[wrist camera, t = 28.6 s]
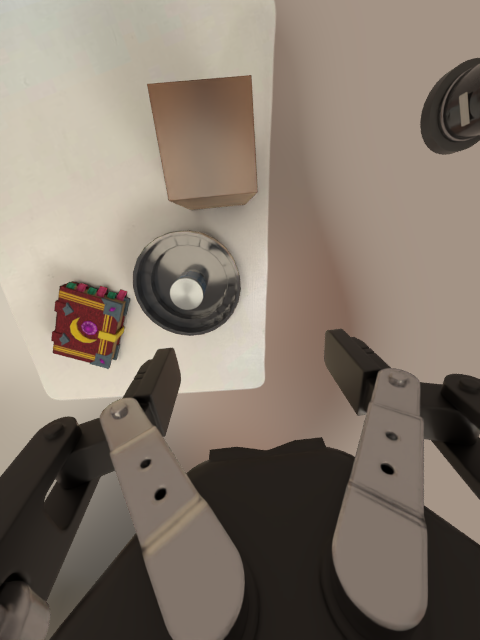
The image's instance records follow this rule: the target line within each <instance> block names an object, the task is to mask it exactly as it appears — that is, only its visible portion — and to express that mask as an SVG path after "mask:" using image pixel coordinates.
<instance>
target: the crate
mask: <svg viewBox="0 0 480 640" xmlns="http://www.w3.org/2000/svg"><path fill="white" fill-rule="evenodd" d="M147 86H148V92H149V97H150V102H151V108H152V113H153V119H154V124H155V129H156V135H157V140H158V146H159V151H160V156H161V162H162V167H163V173H164V178H165V183H166V189H167V194H168V200H169V201H171V202H173V203H175V204H178V205H180V206H183V207H185V208H187V209H190V210H195V209H206V208H216V207H227V206H237V205H245V204H246V203H247V202H248V201H249V200H250V199H251V198H252V197H253V196H254V195H255V194H256V193H257V192H258V190H257V172H256V153H255V134H254V116H253V97H252V79H251V75H249V76H237V77H225V78H214V79H202V80H190V81H178V82H166V83H154V84H147Z"/></svg>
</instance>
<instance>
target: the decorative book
mask: <svg viewBox="0 0 480 640" xmlns="http://www.w3.org/2000/svg"><path fill="white" fill-rule="evenodd" d="M106 291H107V288H105V287H102V286H100V288H99V290H98V289H95V288H92V287H88V285H86V284H83V283H80V284H79V283H76V282H73V281H72V282H69V283H67V284H64V285H62V286H60V289H59V298H58V300H57V301H55V310H54V311H56V312H57V317H56V327H55V330H54V331H53V332H52V340H51V341H54V346H53V353H54V354H58V355H62V356H66V357H70V358H74V359H77V360H81V361H85V362H89V363H90V364H92V365H96V366H100V367H103V368H107V369H109V368H110V365H111V360H112V359H113V360H116V359H117V356H118V351H119V346H120V344H119V342H120V337H121V335H122V334H123V332H124V326H123V323H124V319H125V316H126V314H127V310H128V305H129V301H130V298H126V297H125V295H126V293H127V291H124V290H121V289H120V291H119V294H118V295H117V294H116V293H113V292H110V291H109V293H107V292H106Z"/></svg>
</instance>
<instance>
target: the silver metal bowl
mask: <svg viewBox="0 0 480 640" xmlns="http://www.w3.org/2000/svg"><path fill="white" fill-rule="evenodd" d="M187 270H197V271H199V272H201V273H202V274H203V275H204V277H205V279H206V283H207V286H206V291H205V294H204V297H203V300H202V302H201V304H200V305H199V306H198V307H196V308H194V309H191V310H185V309H181V308H179V307H177V306H176V305H175V304H174V303H173V301H172V299H171V297H170V289H171V286H172V285H173V283H174V282H175V281H176V280H177V278H178V277H179V276H180V275H181V274H182V273H183V272H185V271H187ZM133 288H134V292H135V296H136V299H137V301H138V303H139V305H140V307H141V308H142V310H143V312H144V313H145V314H146V315H147V316H148V317H149V318H150V319H151V320H152V321H153V322H154V323H155V324H157V325H158V326H160V327H161V328H163V329H165V330H167V331H170V332H173V333H175V334H181V335H189V336H191V335H201V334H205V333H208V332H210V331H213V330H215V329H217V328H218V327H220V326H221V325H223V324H224V323H225V322H226V321H227V320H228V319H229V318H230V316H231V315H232V314H233V312H234V310H235V308H236V306H237V304H238V302H239V296H240V290H241V287H240V276H239V272H238V269H237V266H236V264H235V261H234V259H233V257H232V255H231V254H230V253H229V251H228V250H227V248H226V247H225V246H224V245H222V244H221V243H220V242H219V241H218V240H216V239H215V238H213V237H211V236H209V235H207V234H205V233H202V232H196V231H190V230H187V231H177V232H170V233H168V234H165V235H163V236H160V237H158V238H156V239H154V240H153V241H152V242H151V243H150V244H148V245H147V246H146V247H145V248H144V249H143V251H142V252H141V254H140V255H139V257H138V258H137V261H136V264H135V268H134V271H133Z"/></svg>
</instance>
